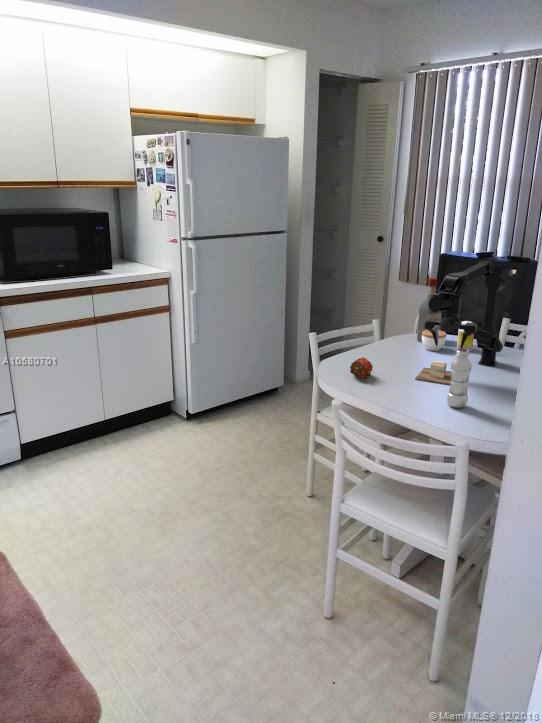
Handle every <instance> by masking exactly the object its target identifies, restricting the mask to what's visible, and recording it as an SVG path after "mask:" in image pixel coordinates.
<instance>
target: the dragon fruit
mask: <svg viewBox="0 0 542 723" xmlns="http://www.w3.org/2000/svg"><path fill="white" fill-rule="evenodd" d="M373 367H374V366H373V364H372V362H371V361H370V360H368V359H367V358H366V357H363V356H362V357H361V358H357V359H355V360H354V362H351V364H350V366H349V369H350V371H349V373H350V374H352V375H354V377H356V378H358V379H360V378H363V379H364V378H370V377H371V375H372V373H371V372H372V371H373Z"/></svg>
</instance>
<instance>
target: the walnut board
mask: <svg viewBox="0 0 542 723" xmlns="http://www.w3.org/2000/svg"><path fill="white" fill-rule="evenodd" d="M430 369H431V367H430V368H429V367H423V368H422V370H421V371H420V372H419V373H418V375H417V376H416V377H415V381H421V382H428V383H434V384H440V385H444V386H445V385H446V386H450V385H451V370H450V371H449V370H446V375H445V376H444V378H443V379H442V378H436V377H430Z"/></svg>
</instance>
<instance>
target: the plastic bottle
mask: <svg viewBox="0 0 542 723" xmlns="http://www.w3.org/2000/svg"><path fill="white" fill-rule="evenodd" d="M455 355H456V357H455V358H454V359H453V360H452V362H451V364H450V371H451V385H449V392H448V395H447V397H446V399H447V401H446V402H447V404H448V406H450V407H452V408H455V409H462V408H465V407H466V406H467V404H468V401H469V397H468V388H469V387H468V386H469V385H468V384H469V381H470V380H469V378H470V374H471V371H472V366H473V365H472V363H471V361H470V359H469V356H470V351H468V350H466V349H456V353H455Z"/></svg>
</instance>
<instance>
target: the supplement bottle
mask: <svg viewBox="0 0 542 723" xmlns="http://www.w3.org/2000/svg"><path fill="white" fill-rule="evenodd" d="M467 322H469V323H474V322H472V321H469V320H464V321H463V320H462V321H461V324H462V325H465V324H466V323H467ZM457 333H458V334H457V341H456V350H458V349H460V348H461V342H462V337H463V333H464V330H462V329H458V332H457ZM474 335H475V334H472V335H468V337H467V339H466V341H465V343H464V345H463V347H462V349H466V350H468V351H469V352H471V351H472V350H473V346H474Z"/></svg>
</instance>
